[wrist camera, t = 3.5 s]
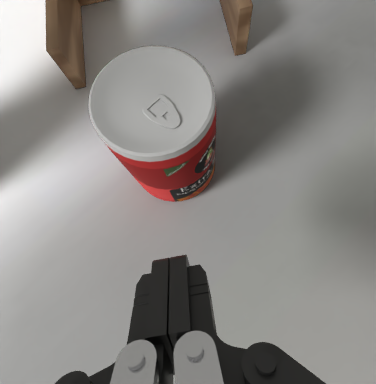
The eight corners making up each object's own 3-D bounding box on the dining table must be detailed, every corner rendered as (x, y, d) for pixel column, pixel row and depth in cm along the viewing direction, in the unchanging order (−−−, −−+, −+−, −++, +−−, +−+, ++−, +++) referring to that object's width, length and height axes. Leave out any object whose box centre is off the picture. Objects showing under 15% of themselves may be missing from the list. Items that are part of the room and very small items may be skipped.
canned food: (189, 218, 24) (172, 181, 14) (121, 178, 26) (60, 118, 16) (229, 152, 26) (241, 73, 15) (162, 118, 28) (131, 27, 17)
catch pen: (75, 88, 30) (46, 50, 24) (71, 1, 34) (44, -49, 28) (245, 53, 29) (253, 5, 24) (220, -33, 33) (222, -90, 28)
